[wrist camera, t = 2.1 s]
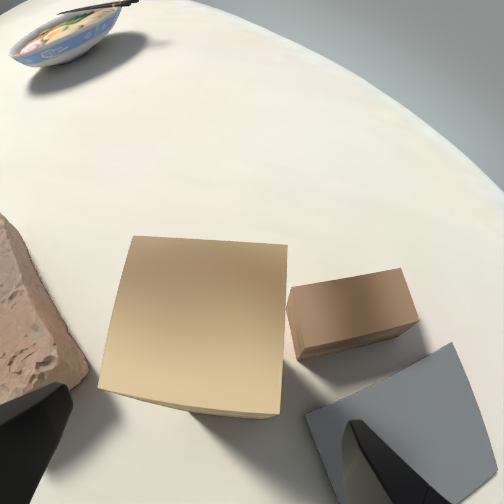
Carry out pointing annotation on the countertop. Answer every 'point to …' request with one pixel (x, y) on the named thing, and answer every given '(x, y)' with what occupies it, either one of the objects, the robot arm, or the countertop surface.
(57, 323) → the brick
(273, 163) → the countertop surface
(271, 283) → the oak post
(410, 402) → the slate coaster
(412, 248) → the countertop surface
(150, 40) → the countertop surface
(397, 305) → the walnut brick
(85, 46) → the ramen bowl
